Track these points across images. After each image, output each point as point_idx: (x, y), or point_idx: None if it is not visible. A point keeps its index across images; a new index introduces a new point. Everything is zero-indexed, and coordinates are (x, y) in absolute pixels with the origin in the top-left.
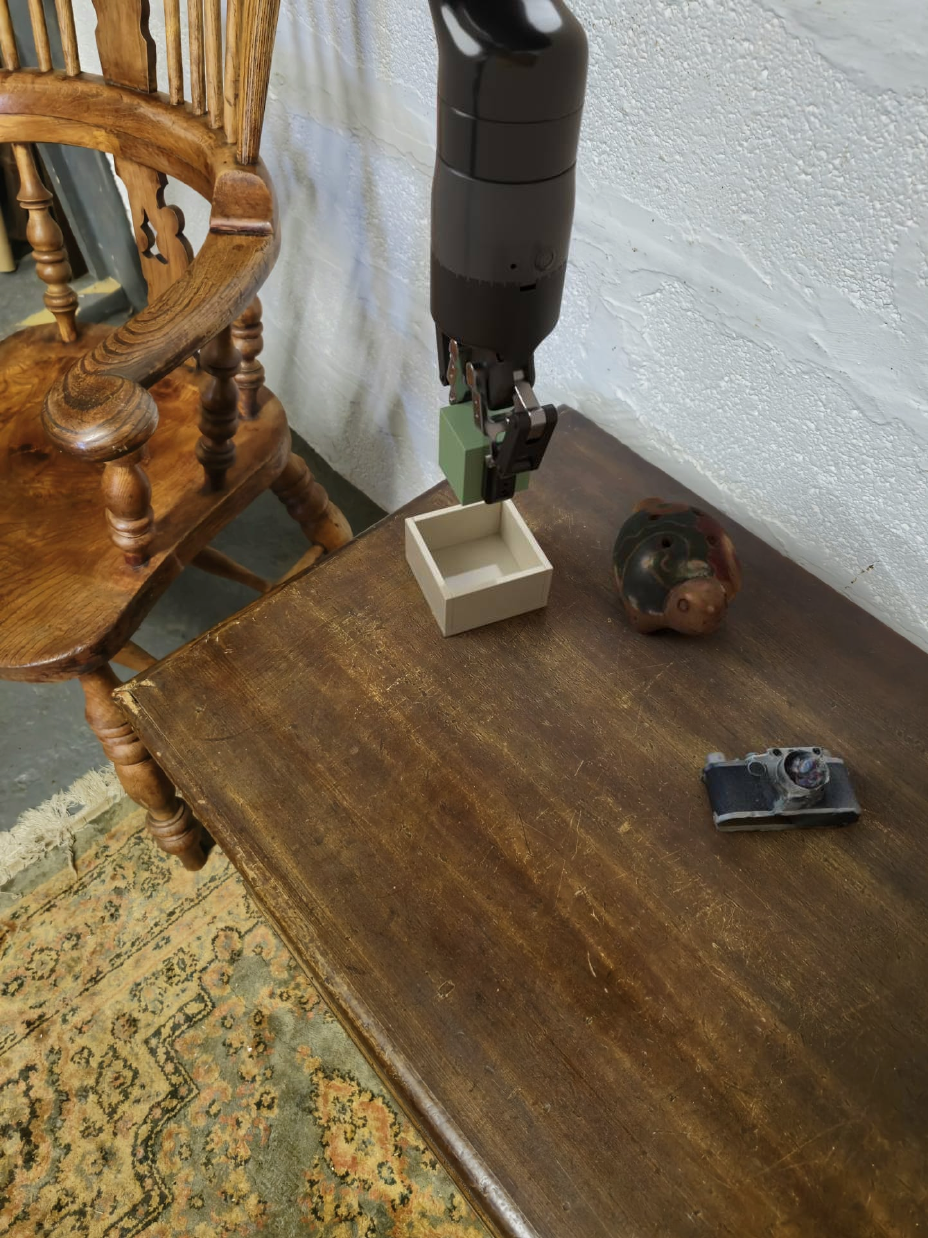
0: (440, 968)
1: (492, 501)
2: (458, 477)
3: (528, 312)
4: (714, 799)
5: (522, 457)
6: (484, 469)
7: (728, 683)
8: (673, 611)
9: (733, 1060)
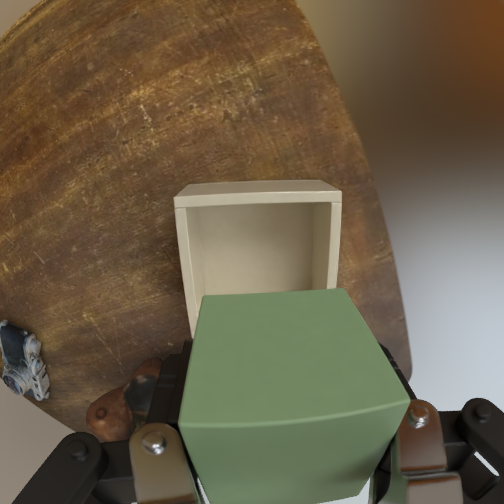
0: None
1: (174, 355)
2: (227, 330)
3: None
4: (9, 330)
5: (94, 495)
6: None
7: (101, 383)
8: (111, 401)
9: None
